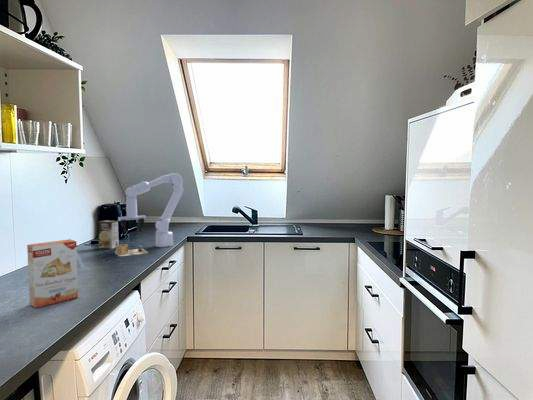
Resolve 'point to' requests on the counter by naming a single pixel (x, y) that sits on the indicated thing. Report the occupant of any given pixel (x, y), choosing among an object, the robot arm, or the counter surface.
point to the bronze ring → (122, 249)
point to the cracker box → (52, 272)
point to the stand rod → (139, 248)
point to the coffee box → (108, 234)
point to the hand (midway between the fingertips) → (132, 232)
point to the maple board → (134, 252)
